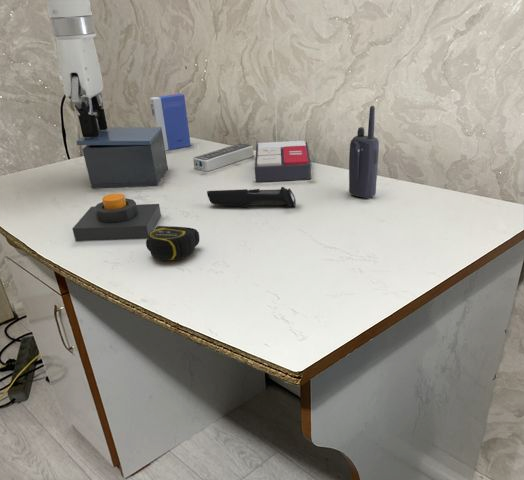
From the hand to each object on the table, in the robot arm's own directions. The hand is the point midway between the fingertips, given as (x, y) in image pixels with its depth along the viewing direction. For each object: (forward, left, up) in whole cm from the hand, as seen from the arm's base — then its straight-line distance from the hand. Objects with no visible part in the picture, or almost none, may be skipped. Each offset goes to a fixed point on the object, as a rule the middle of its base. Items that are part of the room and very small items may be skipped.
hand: (95, 132), depth 108 cm
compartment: (+5, 0, -10) cm, 11 cm away
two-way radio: (+51, -17, -10) cm, 55 cm away
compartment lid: (+5, 0, -1) cm, 5 cm away
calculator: (+37, +1, -10) cm, 39 cm away
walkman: (+10, +24, -10) cm, 28 cm away
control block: (+10, -28, -10) cm, 31 cm away
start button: (+10, -28, -6) cm, 30 cm away
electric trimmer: (+32, -20, -10) cm, 39 cm away
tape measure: (+21, -39, -10) cm, 46 cm away
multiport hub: (+24, +9, -10) cm, 28 cm away
